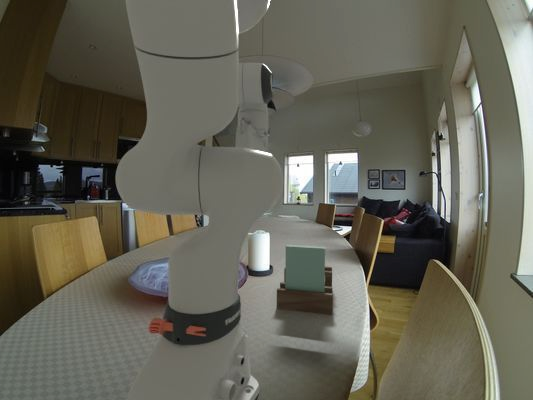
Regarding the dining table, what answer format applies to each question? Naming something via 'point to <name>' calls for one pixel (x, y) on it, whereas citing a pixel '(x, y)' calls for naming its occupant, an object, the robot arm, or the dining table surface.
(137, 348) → the dining table surface
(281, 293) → the rack
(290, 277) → the panel
